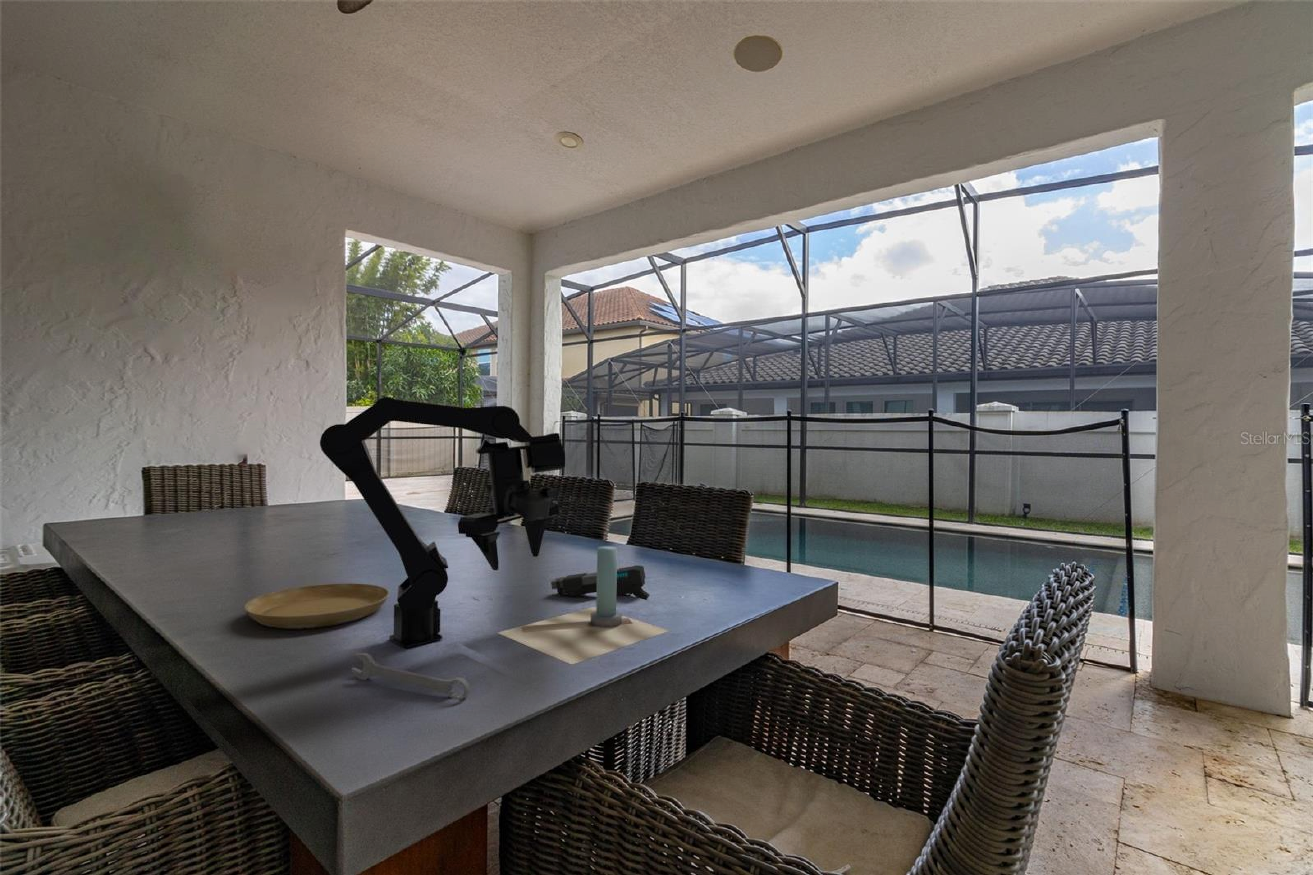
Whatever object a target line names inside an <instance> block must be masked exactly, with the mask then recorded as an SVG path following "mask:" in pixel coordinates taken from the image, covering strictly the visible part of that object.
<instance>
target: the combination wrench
mask: <svg viewBox="0 0 1313 875" xmlns="http://www.w3.org/2000/svg"><path fill="white" fill-rule="evenodd" d="M354 657H355V658H357V659H358V660H360V661H362V663H363V665H362V667H363V668H362V670H361V669H360V668H357V667H351V671H352V673H353V675H354V676H355V678H357V679H359V680H364V681H366V680H369V679H370V678H372V677H379V678H384V679H388V680H391V681H395V682H398V683H399V682H400V683H403V684H407V685H411V686H415V687H419V688H423V689H428V690H431V691H434V692H435V691H436V692H440V693H442V694H445V695H447V696H448V697H450V699H452V700H460V701H462V700H463V699H465V698H467V696H468V695H469V693H470V685H469V682H468V681H467V680H466V679H465V678H463V677H460V676H459V677H455V678H453V679H445V678H444V679H443V678H439V677H435V676H434V677H433V676H429V675H426V674H420V673H416V672H411V671H408V670H402V669H398V668H393V667H389V666H385V665H381V664H379V663H377V662H376V661H375V659H374V657H373V656H372V655H371V654H369V653H367V652H359V653H355V654H354ZM455 683H459V684H461V686H462V687H463V694H462V695H457V693H455V692H454V691H455V690H454V688H453V687H454V684H455Z"/></svg>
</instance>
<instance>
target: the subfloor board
mask: <svg viewBox="0 0 1313 875" xmlns="http://www.w3.org/2000/svg"><path fill="white" fill-rule="evenodd" d="M594 611H596V606H593V607H592V606H591V607H588V608H585V609H582V610H578V611H574V612H571V613H570V612H569V613H567V614H563V615H558V616H555V617H552V618H547V619H544V620H543V619H542V620H540V621H536V622H532V623H528V624H525V625H521V626H517V627H514V628H513V627H512V628H510V629H505V630H502V631H499V632H497V634H498V635H500V636H503V637H505V638H508V639H510V640H513V641H515V642H518V643H520V644H522V645H525V646H527V647H528V648H531V649H534V650H536V651H539V652H541V653H543V654H546V655H548V656H551V657H552V658H554V659H556V660H558V661H559V660H560V661H562V662H564V663H566V664H569V665H570V666H573V665H576V664H578V663H581V662H584V661H587V660H591V659H592V658H596V657H599V656H602V655H605V654H607V653H610V652H613V651H616V650H619V649H621V648H622V649H623V648H625V647H627V646H631V645H633V644H636V643H640V642H642V641H646V640H648V639H651V638H653V637H657V636H659V635H663V634H666V633H668V632H671V630H669V629H667V628H663V627H660V626H657V625H654V624H650V623H647V622H644V621H640V620H637V619H636V618H631V617H628V616H625V615H622V623H621V624H620V625H618V626H615V627H606V628H605V627H596V626H593V625H592V624H591V613H592V612H594Z"/></svg>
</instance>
